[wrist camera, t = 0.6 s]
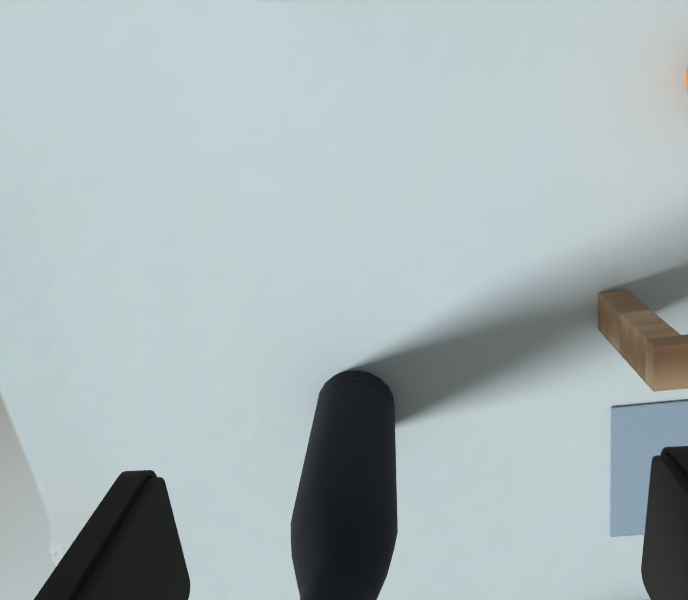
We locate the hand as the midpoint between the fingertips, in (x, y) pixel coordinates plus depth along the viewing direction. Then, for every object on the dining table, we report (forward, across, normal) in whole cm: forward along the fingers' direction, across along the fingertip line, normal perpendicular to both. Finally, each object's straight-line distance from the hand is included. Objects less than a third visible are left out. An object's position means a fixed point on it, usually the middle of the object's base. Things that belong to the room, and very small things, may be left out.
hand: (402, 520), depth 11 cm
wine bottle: (+33, +4, +17) cm, 37 cm away
